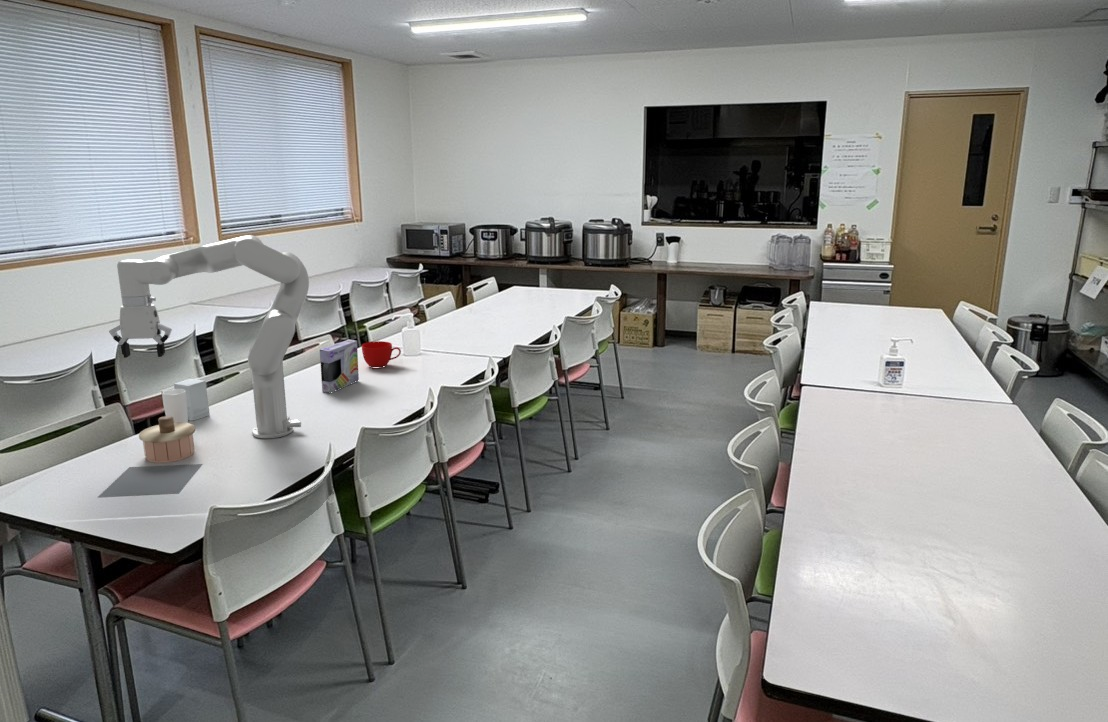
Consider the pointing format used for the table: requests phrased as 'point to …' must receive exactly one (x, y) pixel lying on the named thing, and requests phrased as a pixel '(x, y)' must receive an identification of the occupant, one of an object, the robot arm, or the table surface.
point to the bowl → (169, 450)
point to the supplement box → (195, 397)
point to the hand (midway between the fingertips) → (144, 356)
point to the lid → (166, 431)
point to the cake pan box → (339, 365)
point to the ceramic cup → (378, 353)
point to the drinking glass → (176, 405)
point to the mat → (151, 480)
